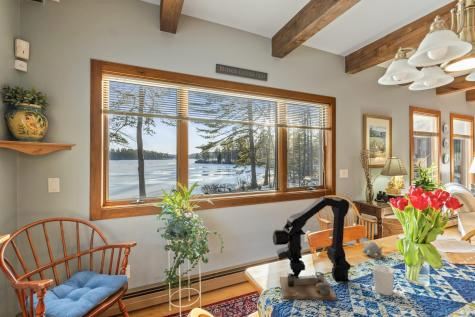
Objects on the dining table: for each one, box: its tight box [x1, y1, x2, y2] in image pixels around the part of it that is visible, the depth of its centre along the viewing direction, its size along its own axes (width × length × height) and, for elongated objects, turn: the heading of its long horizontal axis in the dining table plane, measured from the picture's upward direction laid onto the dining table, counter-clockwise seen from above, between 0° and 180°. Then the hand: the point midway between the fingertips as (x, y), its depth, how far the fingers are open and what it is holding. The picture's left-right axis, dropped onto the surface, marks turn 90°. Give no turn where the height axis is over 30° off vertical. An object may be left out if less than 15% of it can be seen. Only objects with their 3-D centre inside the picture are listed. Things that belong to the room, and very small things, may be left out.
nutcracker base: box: [279, 276, 338, 301], centre depth 105 cm, size 22×16×5 cm
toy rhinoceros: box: [361, 241, 383, 258], centre depth 141 cm, size 7×12×8 cm, turn 100°
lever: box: [287, 271, 325, 287], centre depth 106 cm, size 17×4×4 cm, turn 98°
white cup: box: [372, 264, 395, 296], centre depth 103 cm, size 8×8×10 cm
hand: (294, 275), depth 111 cm, fingers open, 5 cm apart
